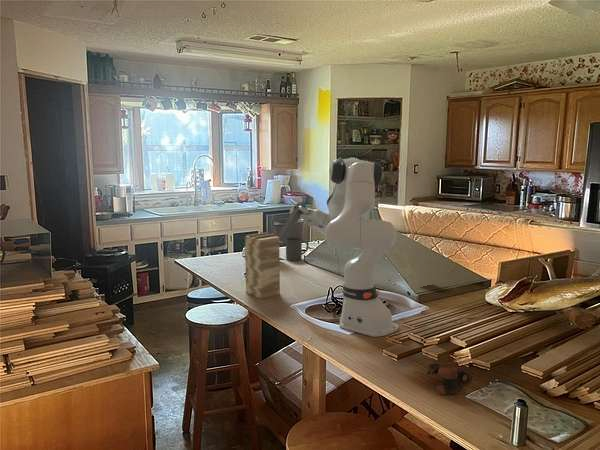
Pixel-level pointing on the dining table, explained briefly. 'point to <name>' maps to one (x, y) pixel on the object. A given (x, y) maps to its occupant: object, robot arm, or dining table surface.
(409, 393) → the dining table surface
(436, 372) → the pottery mug
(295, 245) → the mug
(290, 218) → the steel block
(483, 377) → the dining table surface
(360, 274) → the robot arm
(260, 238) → the maple stand
